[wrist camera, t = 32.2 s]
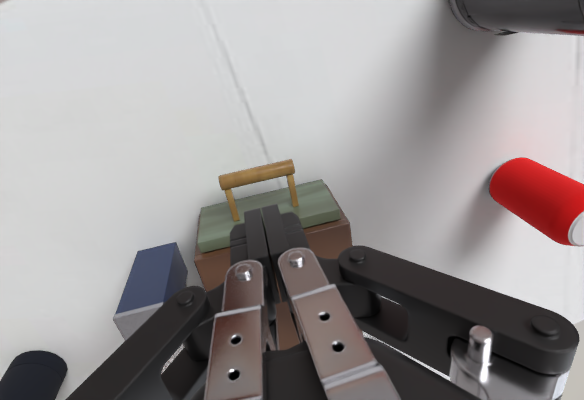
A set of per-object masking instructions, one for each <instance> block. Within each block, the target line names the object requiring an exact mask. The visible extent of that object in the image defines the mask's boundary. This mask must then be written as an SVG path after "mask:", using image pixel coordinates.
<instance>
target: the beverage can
mask: <svg viewBox="0 0 584 400" xmlns="http://www.w3.org/2000/svg"><path fill="white" fill-rule="evenodd" d="M489 193H490V195H491V197H492V198H493V199H494V200H495V201H496V202H498V203H499V204H501V205H502V206H504V207H505V208H507V209H508V210H509V211H511V212H512V213H514V214H515V215H517V216H518V217H520V218H521V219H523V220H524V221H526V222H527V223H529V224H530V225H532V226H533V227H534V228H536V229H537V230H539V231H540V232H542V233H543V234H545V235H546V236H548V237H549V238H551V239H552V240H554V241H555V242H557V243H560V244H563V245H570V246H584V184H582V183H579V182H577V181H575V180H573V179H571V178H569V177H567V176H565V175H562V174H560V173H558V172H556V171H554V170H552V169H550V168H547V167H545V166H543V165H541V164H539V163H537V162H535V161H533V160H530V159H528V158H515V159H512V160H509V161H507V162H505V163H503V164H502V165H501V166H500V167H498V168H497V169H496V171H495V172H494V173H493V175H492V177H491V179H490V182H489Z"/></svg>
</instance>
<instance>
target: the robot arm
mask: <svg viewBox="0 0 584 400" xmlns="http://www.w3.org/2000/svg"><path fill="white" fill-rule="evenodd" d="M449 3H450V6H451V9H452V11H453V13H454V15H455V16H456V18H457V19H458V20H459V21H460V22H461V23H462V24H463V25H464V26H466V27H468V28H470V29H473V30H477V31H494V30H497V31H507V32H503V33H499V34H494V35H509V34H513V33H518V32H526V33H543V34H561V35H578V36H584V0H449ZM261 209H262V213H261V210H260V208H256V209H252V210H248V211H244V220H245V223H241V224H237V225H234V226H233V228H232V230H231V231H230V263H231V267H230V268H229V269H228V271H227V272H226V275H225V281H224V282H223V283H222V284H221V285H219V286H217V287H216V288H214V289H212V290H210V291H208V292H206V291H205V290H204V289H203V288H202V287H199V286H190V287H186V288H183V289H181V290H179V291H177V292H176V293H174V294H173V295H172V296H171V297H170V298H169V299H168V300H167V301H166V302H165V303H164V304H163V305H162V306H161V307H160V308H159V309H158V310H157V311H156V312H155V313H154V314H153V315H152V316H151V317H150V318H149V319H148V320H146V321H145V322H144V323H143V324H142V325H141V326H140V327H139V328H138V329H137V330H136V331H135V332H134V333H133V334H132V335H131V336H130V337H129V338H128V339H127V340H126V341H125V342H124V343H123V344H122V345H121V346H120V347H119V348H118V349H117V350H116V351H115V352H114V353H113V354H112V355H111V356H110V357H109V358H108V359H107V360H106V361H105V362H104V363H103V364H102V365H100V366H99V367H98V368H97V369H96V370H95V371H94V372H93V373H92V374H91V375H90V376H89V377H88V378H87V379H86V380H85V381H84V382H83V383H82V384H81V385H80V386H79V387H78V388H77V389H76V390H75V391H74V392H73V393H72V394H71V395H70V396H69V397H68V398H67V399H66V400H560V399H561V396H562V393H563V390H564V387H565V383H566V381H567V378H568V374H569V371H570V368H571V365H572V362H573V359H574V355H575V352H576V349H577V346H578V343H579V334H578V331H577V330H576V328H575V327H574V325H573V324H572V323H571V322H570V321H568V320H567V319H566V318H564V317H563V316H561V315H559V314H557V313H555V312H553V311H550V310H547V309H544V308H542V307H539V306H536V305H533V304H530V303H527V302H524V301H521V300H519V299H516V298H513V297H510V296H507V295H504V294H501V293H498V292H496V291H493V290H490V289H487V288H484V287H481V286H478V285H475V284H473V283H470V282H467V281H464V280H461V279H458V278H455V277H453V276H450V275H447V274H444V273H441V272H438V271H435V270H432V269H430V268H427V267H424V266H421V265H418V264H415V263H412V262H409V261H407V260H404V259H401V258H398V257H395V256H392V255H389V254H386V253H384V252H381V251H378V250H375V249H372V248H369V247H366V246H352V247H349V248H346V249H345V250H343V251H342V252H341V253H340V254H339V256H338V259H326V258H321V257H318V256H316V255H315V254H314V252H313V251H311V249H310V246H309V244H308V241H307V238H306V236H305V233H304V230H303V227H302V225H301V222H300V219H299V217H298V216H297V215H296V214H294V213H293V212H292V211H291V212H287V213H283V214H280V211H279V208H278V204H273V205H268V206H264V207H261ZM262 214H263V217H262ZM263 219H264V221H263ZM264 224H265V225H264ZM275 274H276V275H275ZM276 278H277V280H276ZM277 282H278V286H279V290H280V294H281V298H282V302H287V303H288V307H289V311H290V315H291V319H292V322H293V325H294V328H295V331H296V334H297V337H298V340H299V344H297V345H295V346H293V347H291V348H290V349H287V350H280V346H279V333H278V321H277V317H276V314H277V311H276V305H275V304H279V303H281V301H280V296H279V291H278V286H277ZM381 296H383V297H386V298H388V299H390V300H393V301H395V302H397V303H399V304H401V305H402V306H401V305H398V304H396V303H394V302H391V301H389V300H387V299H385V298H382V297H381ZM360 330H362V331H364V332H366V333H368V334H370V335H372V336H373V337H375V338H377V339H379V340H381V341H383V342H385V343H387V344H389V345H391V346H392V347H394V348H396V349H398V350H400V351H402V352H404V353H406V354H408V355H409V356H411V357H413V358H415V359H417V360H419V361H421V362H423V363H425V364H426V365H428V366H430V367H432V368H434V369H436V370H438V371H440V372H442V373H443V374H445V375H447V376H449V377H450V380H451V382H450V381H448V380H447V379H445V378H443V377H442V376H440V375H438V374H436V373H435V372H433V371H431V370H429V369H428V368H426V367H424V366H422V365H421V364H419V363H417V362H415V361H414V360H412V359H410V358H408V357H407V356H405V355H403V354H401V353H400V352H398V351H396V350H394V349H393V348H391V347H389V346H387V345H386V344H384V343H381V342H379V341H377V340H373V339H370V338H365V337H363V335H362V333H361V331H360ZM182 343H183V345H184V347H185V348H184V349H183V350H182V351H181V352H180V353H179V355H178V356H177V357H176V358H175V359H174V360H173V362H172V363H171V364H170V365H169V366H168V367H167V369H166V370H165V371H164V372H163V373H162V374H161V372H162V369H163V366H164V365H165V363H166V362H167V361H168V360H169V358H170V357H171V356H172V355H173V354H174V353H175V351H176V350H177V349H178V348H179V347H180V346H181V345H182Z"/></svg>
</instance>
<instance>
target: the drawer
mask: <svg viewBox="0 0 584 400" xmlns="http://www.w3.org/2000/svg"><path fill="white" fill-rule="evenodd" d="M294 173H295V169H294V164H293V161H292V159H289V160H285V161H280V162H276V163H272V164H267V165H263V166H259V167H254V168H250V169H246V170H241V171H237V172H233V173H229V174H224V175H220V176H219V183H220V187H221V189H222V190H225V194H226V197H227V200H228V202H225V203H220V204H216V205H212V206H208V207H204V208H201V215H200V224H199V233H198V242H197V244H198V247H199V249H200V252H201V253H205V252H209V251H213V250H214V251H217V250H221V249H225V248H229V247H230V231H231V230H232V228H233V226H234V225H237V224H241V223H245V220H244V211H248V210H252V209H256V208H260V210H261V213H262V209H261V207H264V206H268V205H273V204H278V208H279V211H280V214H283V213H287V212H291V211H292V212H293V213H294V214H296V215H297V216H298V217H299V219H300V222H301V225H302V227H303V229H306V228H310V227H314V226H319V225H323V224H327V223H329V222H331V221H335V220H339V219H341V217H340V209H339V207H338V206H337V204H336V202H335V201H334V199H333V197H332V196H331V194H330V192H329V191H328V189H327V187H326V186H325V184H324V182H323V181H322V180H317V181H313V182H309V183H305V184H300V185H296V186H295V182H294V177H293V174H294ZM282 176H287V181H288V186H289V187H288V188H284V189H279V190H275V191H271V192H267V193H263V194H258V195H254V196H250V197H246V198H241V199H237V200H234V197H233V193H232V190H231V188H235V187H239V186H243V185H248V184H252V183H256V182H260V181H265V180H269V179H273V178H277V177H282ZM262 217H263V214H262ZM263 221H264V219H263ZM264 225H265V224H264Z"/></svg>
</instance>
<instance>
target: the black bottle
mask: <svg viewBox="0 0 584 400" xmlns="http://www.w3.org/2000/svg"><path fill="white" fill-rule="evenodd" d="M66 372H67V365H66V363H65V362H64V360H63V359H62V358H60V357H59V356H57V355H56V354H53V353H50V352H46V351H29V352H25V353H22V354H20V355H19V356H17V357H16V358H15V359H14V360H13V361H12V363H11V364H10V366H9V368H8V369H7V371H6V373H5V374H4V376H3V377H2V379H1V381H0V400H55V398H56V396H57V394H58V391H59V389H60V387H61V385H62V382H63V380H64V378H65V375H66Z"/></svg>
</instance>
